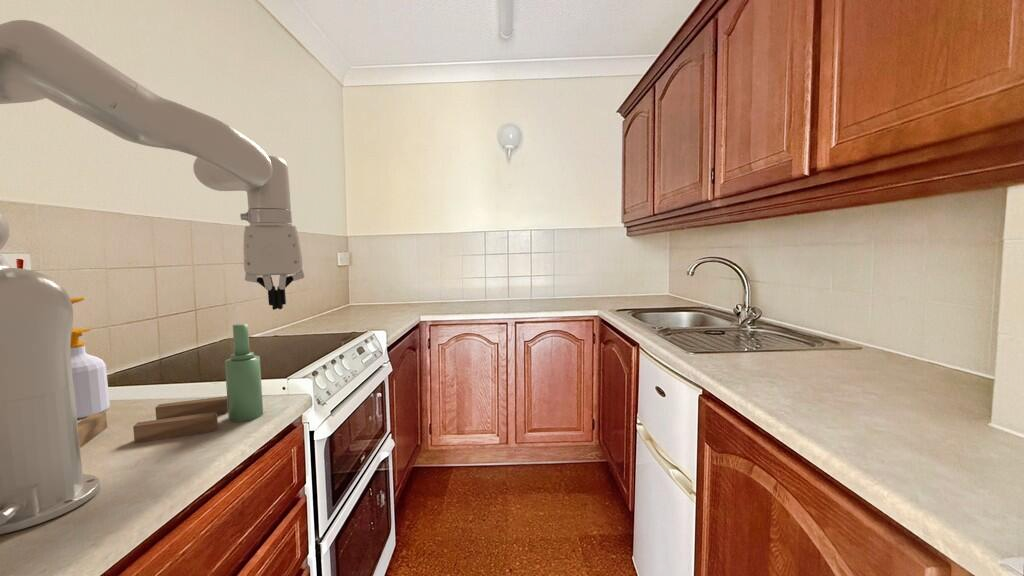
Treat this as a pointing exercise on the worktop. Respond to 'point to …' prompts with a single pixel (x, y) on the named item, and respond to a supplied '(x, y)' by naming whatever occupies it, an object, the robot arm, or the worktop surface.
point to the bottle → (243, 379)
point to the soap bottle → (87, 377)
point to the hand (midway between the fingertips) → (277, 308)
